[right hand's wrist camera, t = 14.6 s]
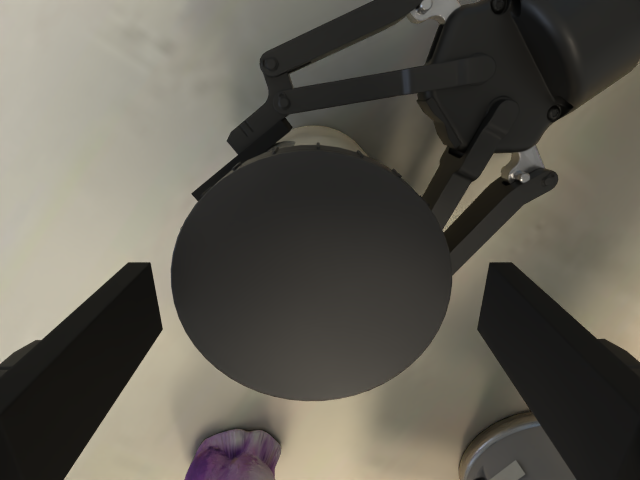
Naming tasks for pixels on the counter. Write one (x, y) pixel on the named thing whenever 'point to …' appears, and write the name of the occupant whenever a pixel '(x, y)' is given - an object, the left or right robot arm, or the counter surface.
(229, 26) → the counter surface
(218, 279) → the lid
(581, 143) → the counter surface
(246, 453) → the figurine
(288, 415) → the counter surface
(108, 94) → the counter surface
